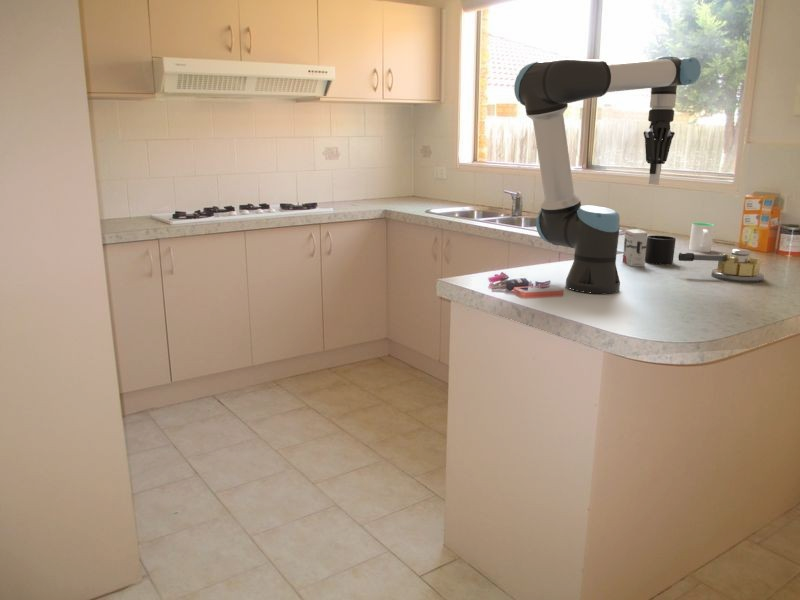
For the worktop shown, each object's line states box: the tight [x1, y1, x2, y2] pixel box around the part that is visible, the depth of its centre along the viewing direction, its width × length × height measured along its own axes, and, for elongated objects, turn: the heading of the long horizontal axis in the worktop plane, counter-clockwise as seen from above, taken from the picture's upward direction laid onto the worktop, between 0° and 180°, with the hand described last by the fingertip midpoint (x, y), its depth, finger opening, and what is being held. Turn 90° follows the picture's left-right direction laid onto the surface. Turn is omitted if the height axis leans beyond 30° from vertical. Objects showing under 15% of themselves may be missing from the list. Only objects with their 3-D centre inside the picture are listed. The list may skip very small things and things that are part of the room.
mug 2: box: [688, 222, 715, 253], centre depth 262 cm, size 12×8×10 cm
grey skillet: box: [677, 252, 761, 276], centre depth 212 cm, size 11×24×6 cm, turn 85°
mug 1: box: [645, 235, 677, 266], centre depth 237 cm, size 9×12×9 cm
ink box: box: [622, 228, 648, 267], centre depth 231 cm, size 8×5×12 cm, turn 2°
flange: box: [711, 248, 765, 284], centre depth 212 cm, size 15×15×9 cm
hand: (653, 184), depth 216 cm, fingers closed
